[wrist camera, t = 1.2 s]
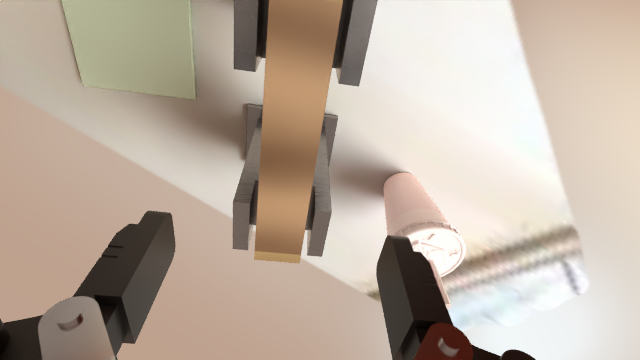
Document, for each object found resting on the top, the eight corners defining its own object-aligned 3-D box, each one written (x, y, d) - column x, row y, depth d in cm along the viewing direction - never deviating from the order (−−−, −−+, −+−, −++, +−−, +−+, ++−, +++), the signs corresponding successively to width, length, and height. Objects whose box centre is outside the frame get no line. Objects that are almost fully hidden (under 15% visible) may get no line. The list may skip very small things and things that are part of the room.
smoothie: (391, 219, 38) (426, 338, 27) (358, 184, 35) (380, 300, 24) (443, 189, 36) (505, 305, 24) (411, 149, 33) (465, 258, 22)
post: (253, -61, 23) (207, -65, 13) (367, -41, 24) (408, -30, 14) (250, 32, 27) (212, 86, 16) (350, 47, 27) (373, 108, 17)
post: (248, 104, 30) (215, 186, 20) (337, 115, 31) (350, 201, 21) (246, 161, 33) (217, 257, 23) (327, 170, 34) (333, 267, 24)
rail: (277, -36, 16) (270, -32, 13) (340, -25, 16) (346, -19, 14) (259, 228, 25) (254, 259, 23) (300, 232, 25) (299, 263, 23)
